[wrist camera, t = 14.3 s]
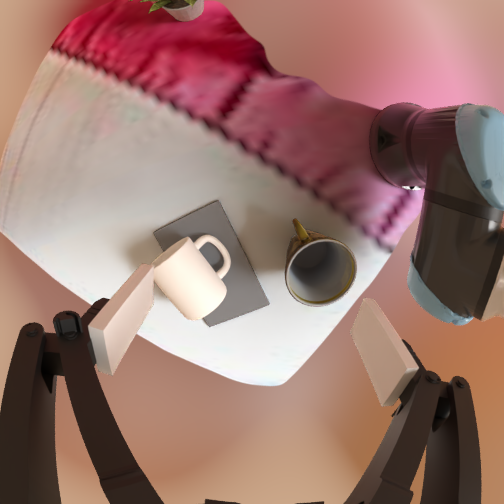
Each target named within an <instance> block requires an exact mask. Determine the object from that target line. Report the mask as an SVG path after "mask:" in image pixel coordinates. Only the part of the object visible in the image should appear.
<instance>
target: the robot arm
mask: <svg viewBox="0 0 504 504" xmlns="http://www.w3.org/2000/svg"><path fill="white" fill-rule="evenodd" d="M370 151H371V155H372V159H373V161H374V164H375V166H376V168H377V169H378V171H379V172H380V174H381V175H382V176H383V177H384V178H385V179H386V180H387V181H388V182H389V183H391V184H393V185H394V186H397V187H399V188H403V189H406V190H421V189H425V192H424V198H423V204H422V210H421V216H420V221H419V226H418V231H417V235H416V240H415V244H414V248H413V251H412V253H411V256H410V261H411V263H410V268H409V272H408V277H407V283H408V287H409V289H410V293H411V295H412V296H413V298H414V299H415V301H416V302H417V303H418V304H419V305H420V306H421V307H422V308H423V309H424V310H425V311H427V312H428V313H429V314H431V315H432V316H434V317H435V318H437V319H439V320H441V321H443V322H446V323H450V322H452V323H453V324H454V325H464V324H467V323H468V322H469V321H470V320H472V318H473V317H475V318H477V319H479V320H481V321H485V320H488V319H490V318H492V317H494V316H500V317H502V318H504V228H503V227H502V226H501V224H502V219H503V214H504V114H503V113H501V112H500V111H499V110H497V109H496V108H493V107H491V106H488V105H474V104H469V103H467V104H462V105H457V106H448V107H440V108H433V109H426V108H422V107H421V106H419V105H416V104H413V103H404V102H403V103H397V104H393V105H390V106H388V107H386V108H384V109H383V110H382V111H380V112H379V114H378V115H377V116H376V118H375V119H374V122H373V124H372V127H371V131H370ZM153 287H154V266H153V265H148V264H143V263H142V264H141V265H140V266H139V267H138V269H137V270H136V271H135V272H134V273H133V274H132V275H131V276H130V277H129V278H128V280H127V281H126V282H125V283H124V284H123V285H122V286H121V287H120V289H119V290H118V291H117V292H116V293H115V294H114V295H113V297H112V298H111V299H106V298H102V299H100V300H98V301H96V302H95V303H94V304H93V305H92V306H91V308H89V309H88V310H87V313H85V314H84V315H83V316H82V317H81V318H80V316H79V314H78V313H76V312H73V311H63V312H60V313H58V314H57V315H56V316H55V317H54V319H53V324H54V328H55V331H56V333H46V332H45V331H44V328H43V326H42V325H41V324H38V323H35V322H34V323H29V324H26V325H25V326H23V327H22V329H21V330H20V333H19V336H18V339H17V342H16V345H15V349H14V352H13V356H12V359H11V363H10V367H9V371H8V375H7V379H6V384H5V388H4V394H3V399H2V405H1V411H0V504H61V498H60V491H59V484H58V476H57V468H56V467H57V466H56V452H55V396H56V381H57V375H60V376H65V381H66V385H67V389H68V393H69V397H70V400H71V404H72V407H73V411H74V414H75V417H76V420H77V423H78V426H79V429H80V432H81V435H82V438H83V440H84V443H85V446H86V448H87V450H88V453H89V455H90V458H91V460H92V463H93V465H94V467H95V470H96V472H97V474H98V476H99V479H100V484H101V487H102V489H103V491H104V493H105V495H106V497H107V499H108V501H109V503H110V504H164V503H163V501H162V500H161V498H160V497H159V496H158V494H157V493H156V491H155V490H154V488H153V487H152V485H151V483H150V482H149V480H148V479H147V477H146V476H145V474H144V473H143V471H142V470H141V468H140V467H139V466H138V464H137V462H136V460H135V458H134V457H133V455H132V453H131V451H130V449H129V447H128V445H127V443H126V441H125V440H124V438H123V436H122V434H121V431H120V430H119V427H118V425H117V423H116V421H115V419H114V416H113V414H112V412H111V410H110V407H109V405H108V403H107V400H106V398H105V395H104V393H103V390H102V388H101V385H100V382H99V380H98V377H97V374H96V371H95V368H94V366H95V364H97V368H98V371H99V372H102V373H105V374H108V375H111V376H113V374H114V372H115V370H116V368H117V366H118V365H119V363H120V361H121V359H122V357H123V356H124V354H125V352H126V350H127V349H128V347H129V345H130V343H131V342H132V340H133V338H134V336H135V335H136V333H137V331H138V330H139V328H140V326H141V325H142V323H143V321H144V319H145V318H146V316H147V314H148V313H149V311H150V309H151V308H152V306H153V305H154V293H153ZM350 334H351V336H352V338H353V340H354V342H355V345H356V347H357V349H358V351H359V354H360V356H361V358H362V361H363V363H364V365H365V367H366V370H367V372H368V374H369V377H370V379H371V382H372V384H373V386H374V389H375V391H376V393H377V396H378V399H379V401H380V404H381V406H392V405H394V404H395V402H396V401H397V400H398V398H400V400H401V404H400V405H399V407H398V408H397V409H396V411H395V412H394V413H393V414H392V417H393V416H394V418H393V420H392V422H391V424H390V426H389V428H388V430H387V432H386V434H385V436H384V438H383V440H382V442H381V444H380V446H379V448H378V450H377V452H376V454H375V456H374V457H373V459H372V461H371V463H370V465H369V466H368V468H367V469H366V471H365V473H364V475H363V476H362V478H361V479H360V481H359V482H358V484H357V486H356V487H355V489H354V490H353V492H352V493H351V495H350V496H349V497H348V499H347V500H346V502H345V503H344V504H410V502H411V500H412V497H413V491H410V487H411V484H412V482H413V480H414V477H415V475H416V472H417V469H418V467H419V464H420V461H421V459H422V456H423V453H424V450H425V447H426V444H427V447H426V463H425V472H424V482H423V489H422V496H421V502H420V504H481V460H480V447H479V438H478V430H477V423H476V417H475V411H474V405H473V400H472V395H471V390H470V386H469V384H468V382H467V381H466V380H465V379H464V378H463V377H460V376H455V377H453V378H452V380H451V381H450V383H448V382H443V381H441V379H440V377H439V376H438V375H437V374H436V373H434V372H432V371H426V369H425V368H424V366H423V365H422V363H421V362H420V360H419V359H418V357H417V356H416V354H415V352H413V349H412V348H411V346H410V345H409V344H408V343H407V342H406V341H405V340H403V339H401V338H400V337H399V335H398V334H397V332H396V331H395V329H394V328H393V326H392V325H391V324H390V322H389V320H388V319H387V317H386V316H385V314H384V313H383V312H382V310H381V309H380V307H379V306H378V305H377V303H376V301H375V300H374V299H368V298H364V299H363V302H362V305H361V307H360V310H359V312H358V315H357V317H356V320H355V322H354V324H353V327H352V329H351V332H350ZM205 504H239V503H236V502H225V501H217V500H209V499H205ZM297 504H324V502H311V503H297Z"/></svg>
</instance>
